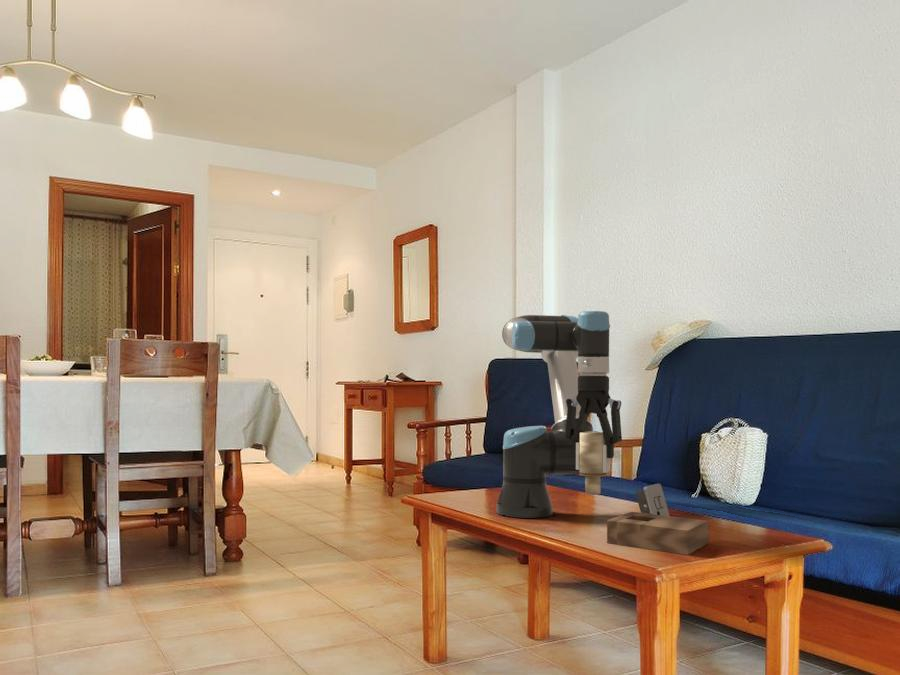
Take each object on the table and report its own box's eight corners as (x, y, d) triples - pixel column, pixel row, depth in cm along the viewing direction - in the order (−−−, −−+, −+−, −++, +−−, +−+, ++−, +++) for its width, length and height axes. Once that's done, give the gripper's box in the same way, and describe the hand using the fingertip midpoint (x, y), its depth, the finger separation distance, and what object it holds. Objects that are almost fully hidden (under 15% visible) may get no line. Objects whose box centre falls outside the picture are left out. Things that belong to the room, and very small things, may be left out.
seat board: (607, 542, 164) (607, 520, 165) (631, 532, 176) (631, 511, 176) (687, 555, 154) (687, 530, 154) (708, 543, 165) (708, 520, 165)
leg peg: (574, 493, 177) (574, 432, 178) (586, 490, 183) (586, 431, 183) (599, 496, 174) (599, 434, 174) (611, 492, 179) (611, 432, 179)
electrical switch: (656, 524, 187) (652, 487, 188) (636, 523, 190) (633, 487, 191) (670, 519, 194) (667, 483, 195) (651, 518, 198) (648, 483, 199)
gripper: (550, 374, 182) (550, 468, 181) (624, 375, 170) (624, 476, 170) (564, 374, 188) (564, 465, 187) (637, 375, 177) (637, 472, 176)
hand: (592, 470), depth 178 cm, fingers closed on leg peg, 6 cm apart
